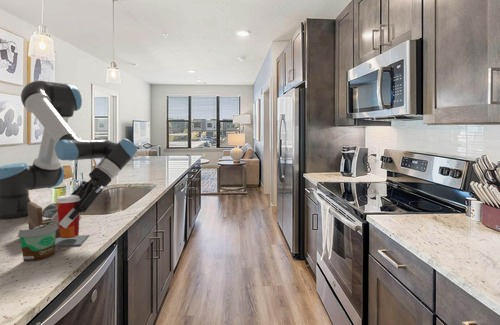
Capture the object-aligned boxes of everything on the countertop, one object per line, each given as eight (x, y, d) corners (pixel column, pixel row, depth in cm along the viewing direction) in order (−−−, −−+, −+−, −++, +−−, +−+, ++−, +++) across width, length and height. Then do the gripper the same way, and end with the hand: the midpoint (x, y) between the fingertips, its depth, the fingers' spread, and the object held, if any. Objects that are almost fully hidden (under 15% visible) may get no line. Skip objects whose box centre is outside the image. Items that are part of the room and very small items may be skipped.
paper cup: (73, 231, 119) (72, 193, 118) (86, 234, 115) (85, 196, 114) (52, 236, 112) (50, 197, 111) (64, 241, 108) (63, 200, 107)
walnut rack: (59, 227, 130) (58, 198, 129) (71, 235, 121) (69, 203, 120) (28, 233, 122) (27, 202, 121) (38, 241, 113) (37, 208, 112)
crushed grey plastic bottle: (38, 219, 142) (53, 231, 124) (39, 203, 141) (54, 212, 124) (71, 216, 151) (90, 227, 133) (72, 201, 151) (90, 210, 133)
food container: (37, 265, 94) (35, 231, 93) (19, 263, 95) (17, 230, 94) (68, 250, 106) (67, 220, 105) (51, 248, 107) (50, 219, 106)
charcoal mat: (59, 238, 118) (59, 236, 117) (88, 236, 120) (88, 234, 120) (48, 247, 108) (48, 245, 108) (80, 245, 110) (80, 244, 110)
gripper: (123, 182, 116) (77, 236, 106) (100, 176, 130) (57, 223, 120) (108, 169, 112) (58, 223, 101) (86, 164, 126) (40, 212, 115)
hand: (58, 223), depth 111 cm, fingers closed on paper cup, 8 cm apart
